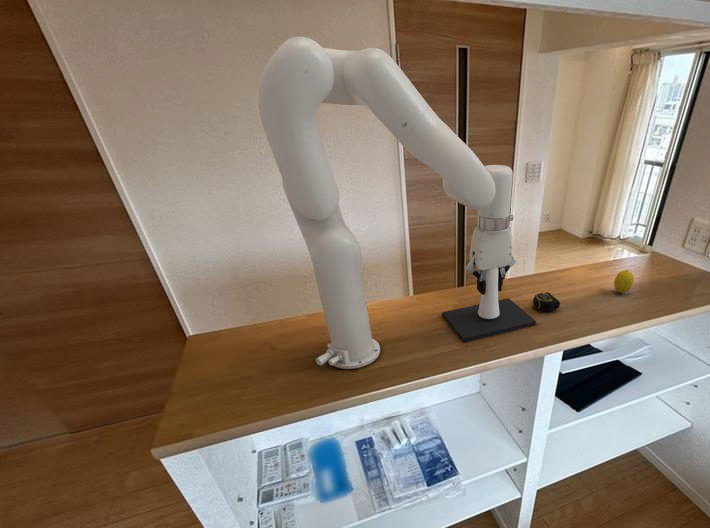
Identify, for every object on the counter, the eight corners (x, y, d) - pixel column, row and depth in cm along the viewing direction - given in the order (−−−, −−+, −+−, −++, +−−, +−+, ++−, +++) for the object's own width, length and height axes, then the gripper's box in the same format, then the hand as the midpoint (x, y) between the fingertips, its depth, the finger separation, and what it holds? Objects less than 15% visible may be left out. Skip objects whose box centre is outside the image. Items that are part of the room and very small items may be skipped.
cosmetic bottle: (501, 310, 105) (506, 233, 92) (496, 320, 100) (501, 241, 88) (481, 307, 107) (483, 231, 94) (475, 317, 102) (477, 239, 89)
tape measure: (559, 311, 109) (562, 300, 107) (539, 315, 107) (540, 303, 105) (548, 301, 114) (550, 290, 112) (528, 304, 112) (529, 293, 110)
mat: (463, 342, 95) (463, 338, 95) (442, 315, 106) (441, 312, 106) (535, 324, 103) (536, 321, 102) (508, 301, 114) (508, 297, 113)
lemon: (633, 294, 118) (640, 270, 114) (622, 298, 116) (629, 275, 111) (618, 287, 122) (624, 265, 118) (607, 292, 120) (613, 268, 115)
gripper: (515, 214, 95) (509, 280, 105) (455, 222, 89) (455, 290, 99) (531, 222, 89) (523, 291, 99) (468, 231, 83) (467, 303, 94)
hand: (489, 290), depth 99 cm, fingers closed on cosmetic bottle, 4 cm apart
